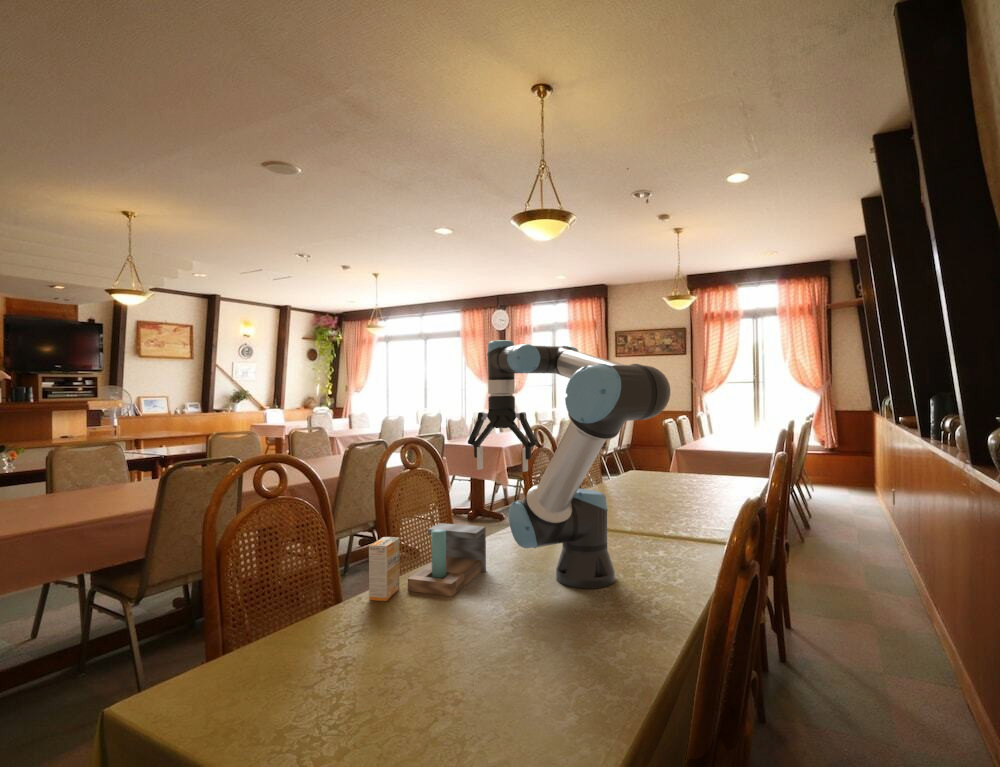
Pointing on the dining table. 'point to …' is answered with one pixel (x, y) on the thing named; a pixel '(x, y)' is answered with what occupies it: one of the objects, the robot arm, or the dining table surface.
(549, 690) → the dining table surface
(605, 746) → the dining table surface
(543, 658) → the dining table surface
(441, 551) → the peg
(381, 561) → the supplement box
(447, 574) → the socket station
